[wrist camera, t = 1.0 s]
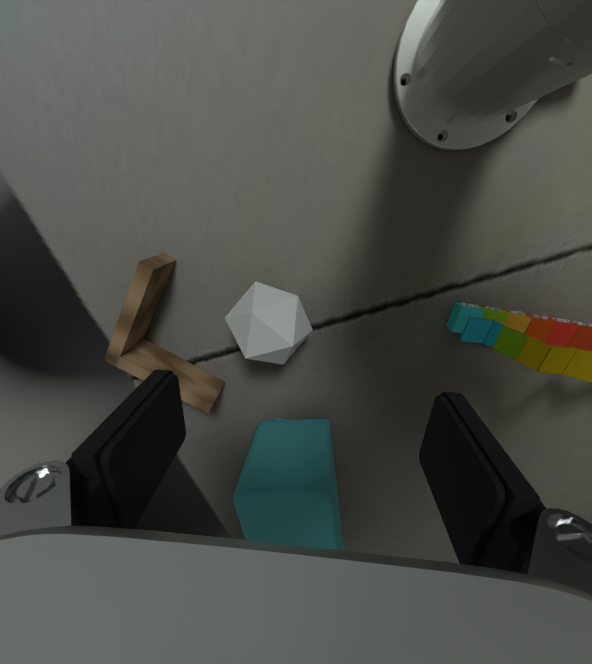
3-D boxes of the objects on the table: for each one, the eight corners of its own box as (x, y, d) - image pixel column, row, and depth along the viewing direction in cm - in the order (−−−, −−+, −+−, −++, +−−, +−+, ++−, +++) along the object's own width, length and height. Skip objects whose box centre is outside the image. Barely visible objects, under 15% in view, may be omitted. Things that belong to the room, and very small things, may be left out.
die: (253, 347, 38) (290, 392, 31) (201, 315, 32) (234, 361, 25) (293, 299, 38) (340, 333, 31) (249, 257, 32) (295, 288, 25)
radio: (254, 400, 41) (220, 499, 28) (328, 395, 40) (331, 498, 26) (288, 547, 55) (277, 662, 41) (344, 547, 53) (352, 666, 40)
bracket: (172, 250, 33) (148, 259, 29) (227, 388, 40) (215, 412, 36) (93, 271, 35) (58, 282, 30) (159, 399, 42) (140, 423, 38)
